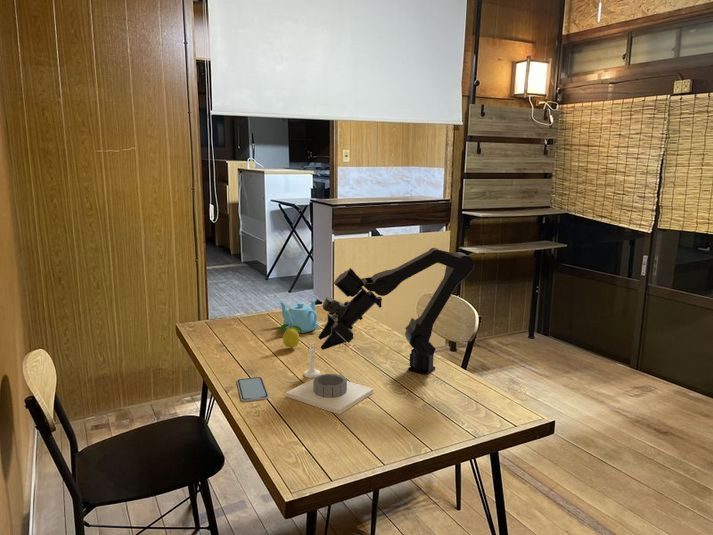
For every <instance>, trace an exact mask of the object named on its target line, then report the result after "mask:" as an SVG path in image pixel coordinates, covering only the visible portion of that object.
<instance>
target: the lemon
mask: <svg viewBox="0 0 713 535" xmlns="http://www.w3.org/2000/svg"><path fill="white" fill-rule="evenodd" d="M290 324H291V323H290ZM288 325H289V324H284V325H283V324H282V325H281V326H280V328H278V333H280V332H281V331H283V330H284V329H285V331H284V333H283V336H282V341H283V344H284V346H285V347H286V348H289V350H293V349H294V348H295V347H297V346H298V344H299V343H300V334H303V332H302V329H301V328H300V327H299V326H293V327H294V328H292V327H290V328H288V329H286V327H287V326H288ZM291 326H292V325H291ZM297 330H298V331H299V332H301V333H298V331H297Z"/></svg>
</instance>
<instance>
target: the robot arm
mask: <svg viewBox="0 0 713 535" xmlns="http://www.w3.org/2000/svg"><path fill="white" fill-rule="evenodd" d="M435 264H440V265H442V266H443V265H444V266H445V272H444V276H443V278H442V280H441V282H440V283H439V285H438V286H437V288H436V290H434V293H433V295H432V296H431V298H430V300H429V302H428V303H427V305H426V307H425V309H424V310H423V312H422V313H421V314H420V316H418V318H416V319H415V318H413V317H411V319H410V321H409V323H408V325H407V326H406V327H405V328H404V329H405V333H404V336H405V339H406V341H407V343H408V344H410V346H411V348H412V349H411V350H410V353H409V363H408V364H409V367H408V368H407V370H408V371H410V372H414V373H418V374H423V375H428V374H429V373H431V372H433V371H434V370H436V366H434V356H435V355H434V354H435V352H436V347H435V346H434V345H433V343H431V341H430V340H431V339H430V338H431V336H432V332H433V327H434V324H435V322H436V321H437V319H438V318H439V316H440V314H441V312H442V311H443V309H444V307H445V306H446V304H447V302H448V301H449V299H450V298H451V296H452V295H453V293H454V291H455V290H456V287H458V285H459V284H460V283H462V282H463V281H464V280H466V278H467V277H468V276H469V275H470V274H471V273H472V271H474V268H475V262H474V260H473V257H471V256H469V255H467V254H466V253H463V252H461V251H460V252H451V251H450V252H449V251H446V250H442V249H439V248H437V247H432V248H430V249H429V250H427V251H425V252H423V253H422V254H419V255H418V256H416V257H414V258H413V259H411V260H409V261H406V262H405V263H403V264H401V265H399V266H397V267H395V268H392V269H391V268H390V269H386V270H383V271H379V272H377V273H374V275H372V276H369V277H368V276H367V277H363V278H361V277H360V276H359V275H357V273H356V272H355V270H354V269H352V267H349V269H347V270H345V271H344V272H343V273H340V274H339V276H337V277H336V279H335V280H334V282H333V284H334V285H335V286H336V288H338V290H340V291H341V293H343V294H344V295H345V296H346V297H348V298H349V297H351V298H352V299H351V300H350V301H348V300H345V302H340V301H339V300H335V299H334V298H332V297H330V296H326V298H325V300H324V301H323V304H322V309H323V310H324V311H326V312H328V313H327V315H326V316H327V321H326V323H325V325H324V327H323V328H322V330H321V332H320V333H319V335H318V339H319V340H323V339H325V338H326V339H325V341H324V342H323V343H322V344H321V346H320V349H321V350H323V351H324V350H327V349H329V348H330V349H331V348H332V347H336V346H339V345H342V344H349V343H350V342H352V340H353V339H354V333H353V330H352V329H353V328H354V325H355V324H356V323H357V322H358V321H359V320H360V321H362V320H363V319H364V317H363V316H365V314H366V313H367V312H368V311H369V310H370V309H371V308H372V307H373V306H374V305H377V307H378V308H382V300H383V297H385V296H387V295H389V294H390V293H392V292H393V291H394V290H396V289H397V288H398V286H400V284H401V283H403V282H404V281H406V280H408V279H409V278H411V277H413V276H415V275H416V274H419V273H421V272H423V271H424V270H426V269H428V268H430V267H432V266H433V265H435ZM375 294H376V295H375ZM377 295H378V296H377Z"/></svg>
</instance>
